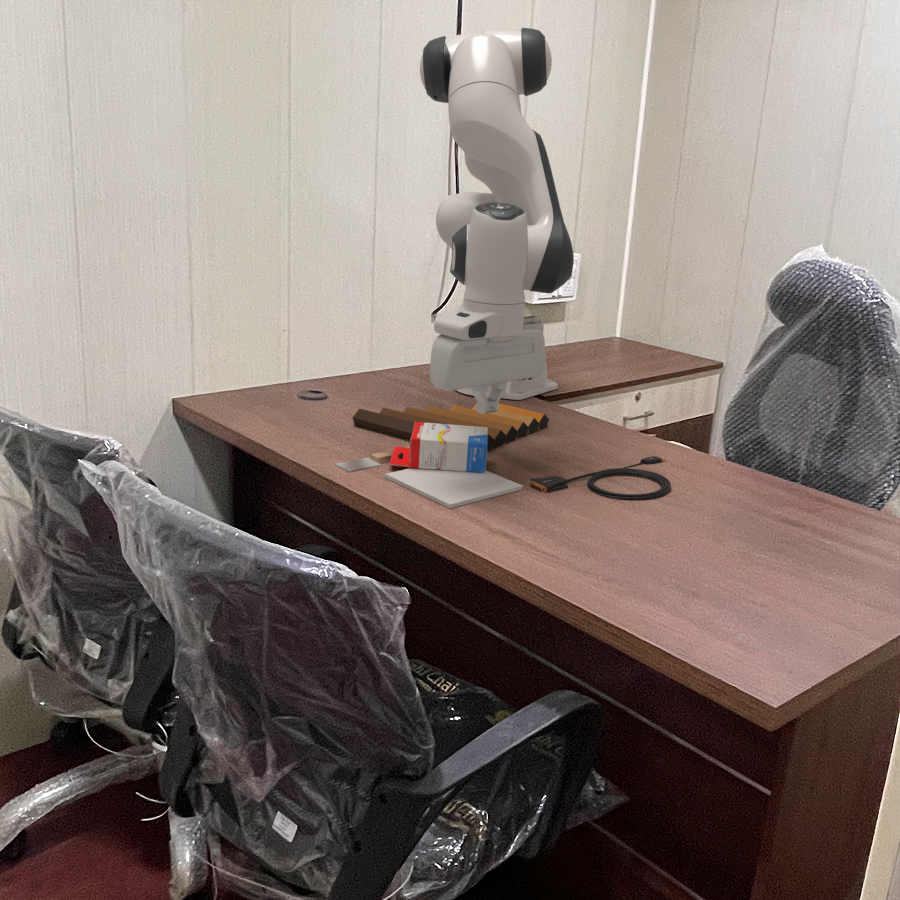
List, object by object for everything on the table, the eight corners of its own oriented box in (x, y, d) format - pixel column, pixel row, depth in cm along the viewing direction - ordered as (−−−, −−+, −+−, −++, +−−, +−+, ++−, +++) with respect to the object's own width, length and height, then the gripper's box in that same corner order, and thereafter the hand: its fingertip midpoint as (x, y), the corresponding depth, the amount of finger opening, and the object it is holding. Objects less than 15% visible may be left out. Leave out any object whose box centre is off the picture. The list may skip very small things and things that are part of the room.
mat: (455, 461, 152) (456, 458, 151) (522, 489, 141) (522, 485, 141) (384, 477, 143) (384, 473, 143) (450, 508, 132) (450, 504, 132)
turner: (413, 450, 156) (413, 443, 156) (428, 457, 153) (428, 450, 153) (334, 466, 147) (334, 458, 147) (349, 473, 144) (349, 466, 144)
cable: (721, 485, 148) (723, 476, 148) (588, 518, 133) (589, 508, 132) (656, 461, 159) (657, 452, 158) (526, 488, 143) (526, 478, 143)
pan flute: (352, 428, 168) (469, 461, 154) (352, 410, 167) (470, 441, 153) (437, 403, 187) (548, 430, 173) (438, 386, 186) (549, 411, 172)
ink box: (488, 443, 143) (390, 436, 144) (485, 474, 145) (389, 467, 145) (487, 426, 151) (395, 419, 152) (485, 455, 153) (394, 448, 153)
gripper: (528, 311, 147) (522, 398, 151) (425, 321, 134) (421, 416, 138) (558, 317, 142) (551, 407, 147) (454, 329, 130) (449, 427, 134)
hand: (487, 412), depth 142 cm, fingers closed
